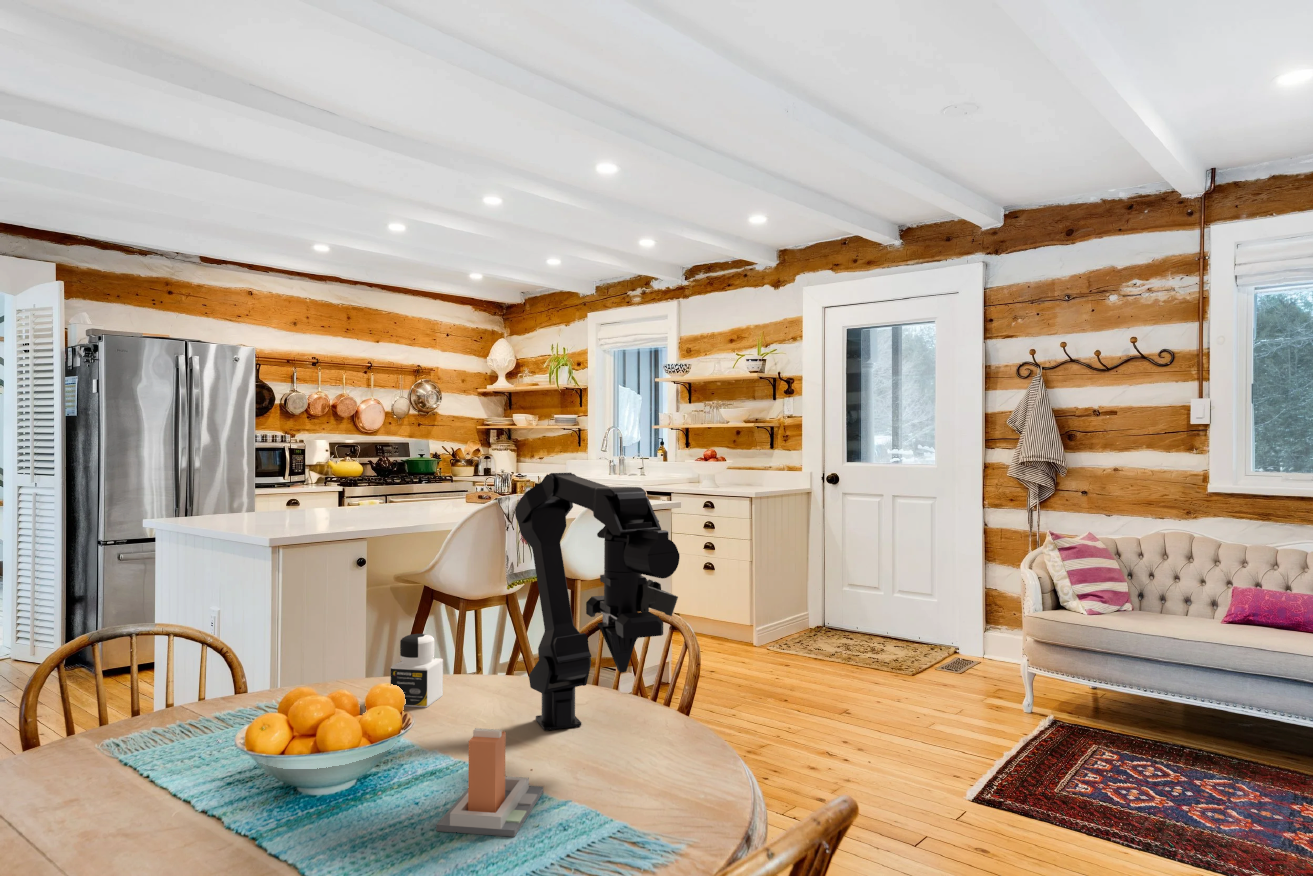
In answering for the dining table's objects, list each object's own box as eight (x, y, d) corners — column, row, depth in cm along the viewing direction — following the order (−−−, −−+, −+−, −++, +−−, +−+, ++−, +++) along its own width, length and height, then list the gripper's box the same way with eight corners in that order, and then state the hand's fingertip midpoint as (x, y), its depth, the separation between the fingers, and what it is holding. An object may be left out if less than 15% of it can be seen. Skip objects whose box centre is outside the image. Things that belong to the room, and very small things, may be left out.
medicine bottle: (389, 706, 152) (390, 639, 152) (407, 694, 159) (408, 630, 159) (426, 708, 151) (427, 641, 151) (443, 696, 158) (443, 632, 158)
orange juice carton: (479, 802, 110) (479, 724, 110) (505, 804, 109) (505, 725, 109) (468, 816, 106) (468, 734, 106) (495, 818, 105) (495, 736, 105)
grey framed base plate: (473, 787, 117) (473, 771, 117) (543, 792, 116) (543, 775, 116) (436, 831, 104) (436, 812, 104) (514, 836, 103) (514, 818, 103)
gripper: (696, 576, 123) (695, 683, 123) (649, 558, 140) (648, 652, 140) (624, 580, 119) (624, 691, 119) (585, 562, 136) (584, 658, 136)
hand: (622, 671), depth 129 cm, fingers closed
